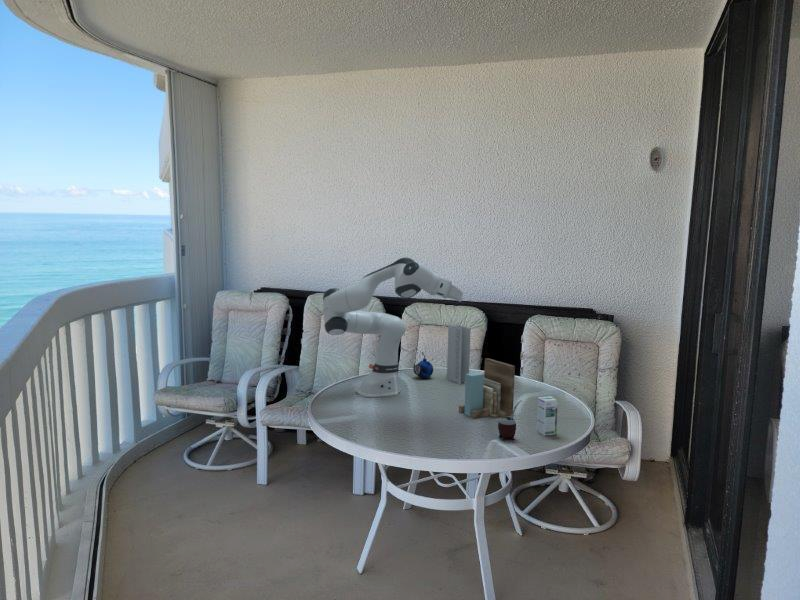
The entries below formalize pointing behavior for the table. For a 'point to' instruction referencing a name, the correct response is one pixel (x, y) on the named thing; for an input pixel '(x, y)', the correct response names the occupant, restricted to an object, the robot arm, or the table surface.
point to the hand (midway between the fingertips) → (453, 298)
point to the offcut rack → (506, 377)
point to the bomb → (423, 368)
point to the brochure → (458, 353)
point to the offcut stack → (491, 395)
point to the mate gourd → (507, 426)
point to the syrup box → (547, 415)
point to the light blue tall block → (473, 392)
